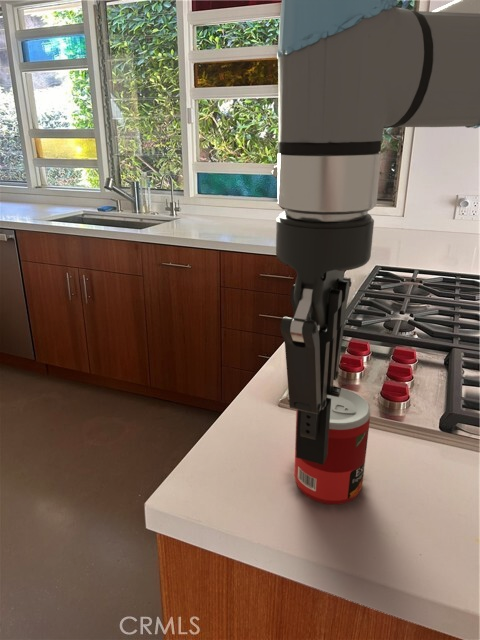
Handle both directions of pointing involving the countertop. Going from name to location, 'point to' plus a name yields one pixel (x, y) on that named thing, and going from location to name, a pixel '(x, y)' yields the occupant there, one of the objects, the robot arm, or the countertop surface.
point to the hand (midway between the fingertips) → (311, 456)
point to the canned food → (338, 453)
